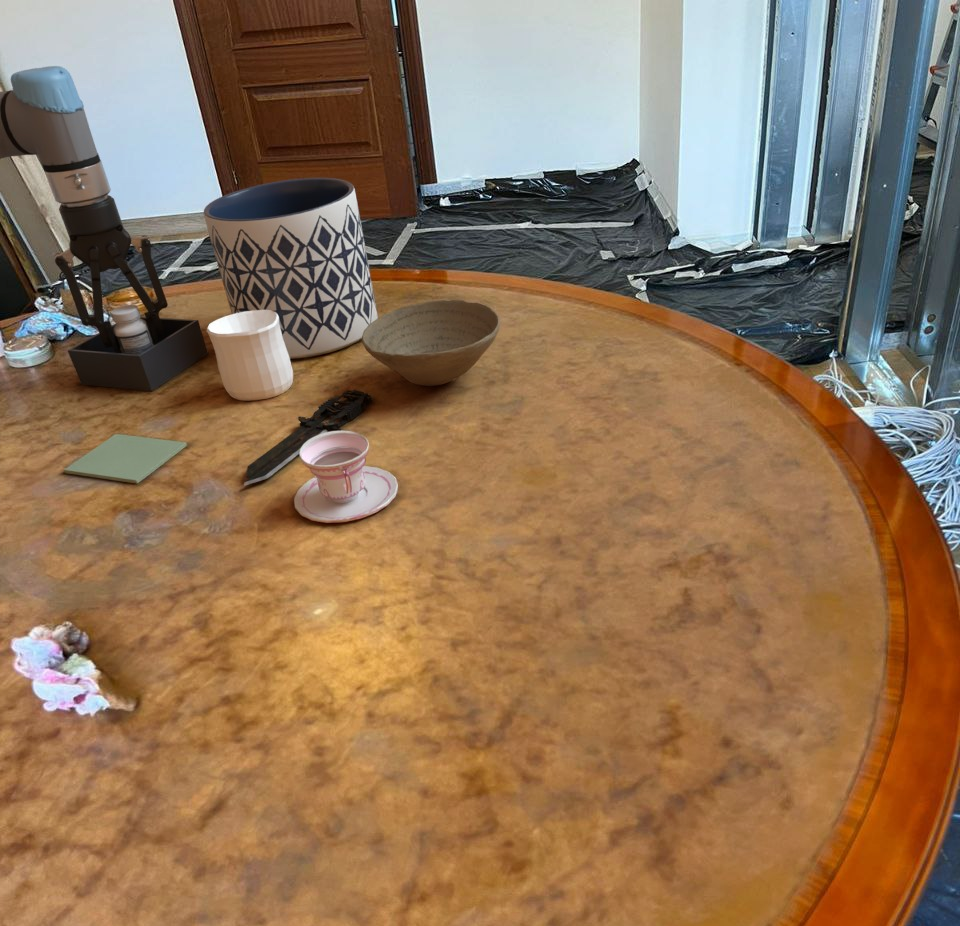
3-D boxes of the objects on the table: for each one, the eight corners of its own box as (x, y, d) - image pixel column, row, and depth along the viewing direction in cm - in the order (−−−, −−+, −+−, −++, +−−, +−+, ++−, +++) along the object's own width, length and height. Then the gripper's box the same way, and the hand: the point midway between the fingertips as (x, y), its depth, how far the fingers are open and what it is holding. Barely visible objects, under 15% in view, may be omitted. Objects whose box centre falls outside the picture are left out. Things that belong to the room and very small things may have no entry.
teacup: (285, 487, 104) (271, 440, 100) (381, 460, 107) (372, 413, 103) (308, 536, 95) (294, 486, 91) (412, 505, 98) (403, 455, 94)
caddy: (81, 384, 136) (67, 350, 133) (140, 348, 146) (128, 315, 142) (152, 391, 131) (139, 356, 128) (208, 353, 141) (198, 319, 137)
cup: (306, 387, 126) (289, 319, 120) (240, 410, 123) (220, 341, 116) (281, 368, 133) (264, 303, 126) (218, 389, 129) (197, 322, 123)
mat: (65, 473, 113) (63, 469, 113) (117, 436, 120) (115, 433, 120) (137, 483, 109) (136, 480, 109) (187, 445, 116) (186, 442, 115)
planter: (371, 354, 133) (344, 209, 120) (226, 368, 135) (184, 227, 122) (385, 302, 150) (362, 171, 137) (256, 315, 152) (222, 187, 139)
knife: (254, 493, 104) (251, 483, 103) (216, 482, 107) (212, 472, 106) (383, 403, 119) (382, 393, 119) (347, 395, 123) (345, 386, 122)
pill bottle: (131, 361, 140) (111, 305, 134) (164, 357, 140) (145, 300, 134) (123, 375, 136) (102, 317, 130) (157, 370, 136) (137, 313, 130)
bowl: (408, 423, 114) (398, 364, 109) (351, 379, 127) (339, 324, 122) (529, 381, 120) (524, 323, 115) (462, 343, 133) (456, 289, 128)
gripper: (15, 218, 118) (83, 383, 133) (153, 191, 122) (204, 354, 137) (16, 207, 123) (81, 366, 138) (148, 181, 128) (197, 339, 142)
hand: (142, 360), depth 138 cm, fingers closed on pill bottle, 5 cm apart
